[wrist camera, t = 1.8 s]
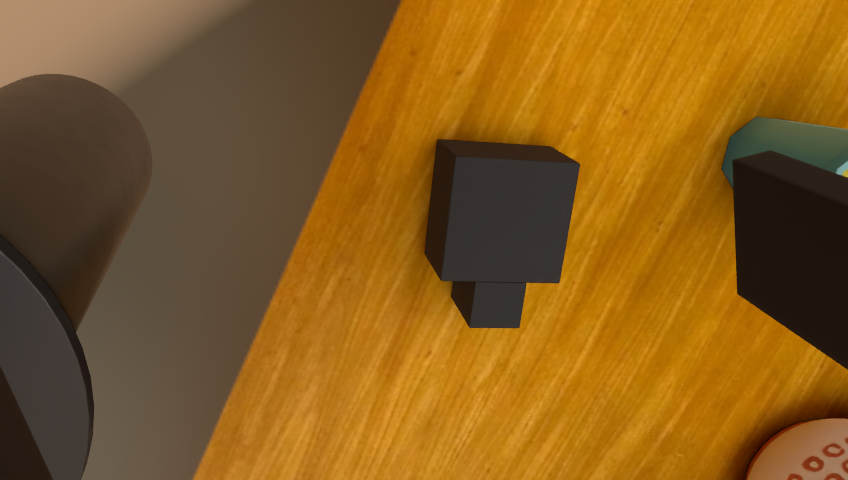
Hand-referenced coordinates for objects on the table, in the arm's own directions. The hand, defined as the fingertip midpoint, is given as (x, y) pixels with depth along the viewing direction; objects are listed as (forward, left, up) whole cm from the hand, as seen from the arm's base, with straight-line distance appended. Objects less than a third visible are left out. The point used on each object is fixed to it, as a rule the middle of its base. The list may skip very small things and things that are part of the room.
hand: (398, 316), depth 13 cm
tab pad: (+11, -7, -29) cm, 32 cm away
